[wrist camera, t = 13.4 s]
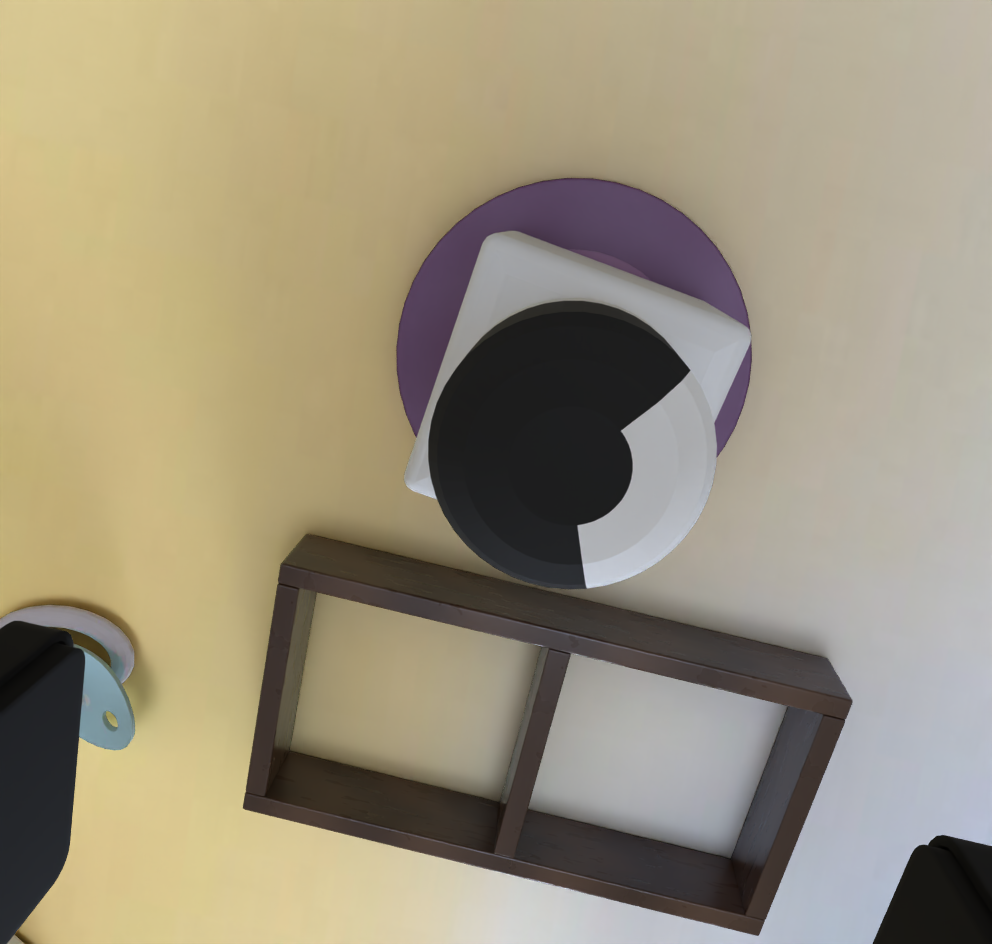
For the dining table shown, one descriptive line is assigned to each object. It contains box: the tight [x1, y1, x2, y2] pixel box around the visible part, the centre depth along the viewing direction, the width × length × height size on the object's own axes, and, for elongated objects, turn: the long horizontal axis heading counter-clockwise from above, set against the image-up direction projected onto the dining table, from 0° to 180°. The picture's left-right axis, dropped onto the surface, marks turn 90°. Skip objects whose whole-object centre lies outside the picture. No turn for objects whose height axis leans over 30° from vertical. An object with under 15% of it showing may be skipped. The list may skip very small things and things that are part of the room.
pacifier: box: [0, 605, 135, 750], centre depth 32 cm, size 7×6×6 cm
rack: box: [243, 534, 852, 936], centre depth 32 cm, size 20×11×3 cm, turn 78°
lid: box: [397, 178, 752, 458], centre depth 29 cm, size 12×12×1 cm
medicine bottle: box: [404, 231, 751, 589], centre depth 23 cm, size 7×7×12 cm
